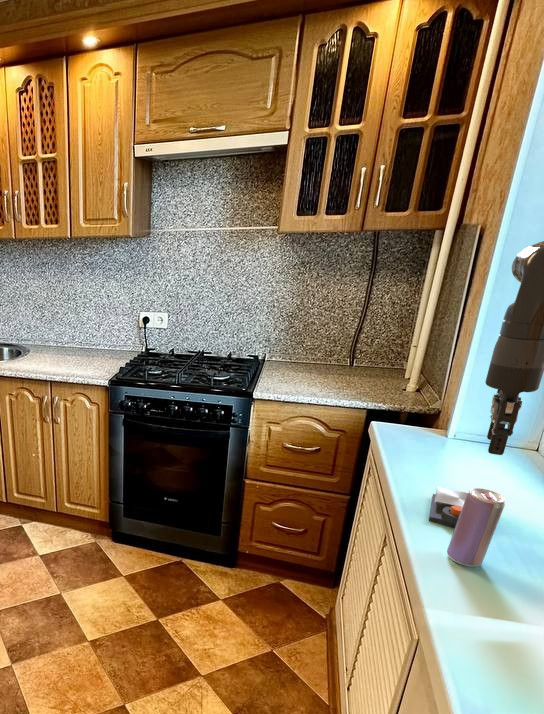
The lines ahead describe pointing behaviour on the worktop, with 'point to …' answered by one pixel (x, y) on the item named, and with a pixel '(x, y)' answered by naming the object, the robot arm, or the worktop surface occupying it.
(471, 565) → the beverage can
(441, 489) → the scale pan
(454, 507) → the button
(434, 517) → the scale
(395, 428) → the worktop surface
